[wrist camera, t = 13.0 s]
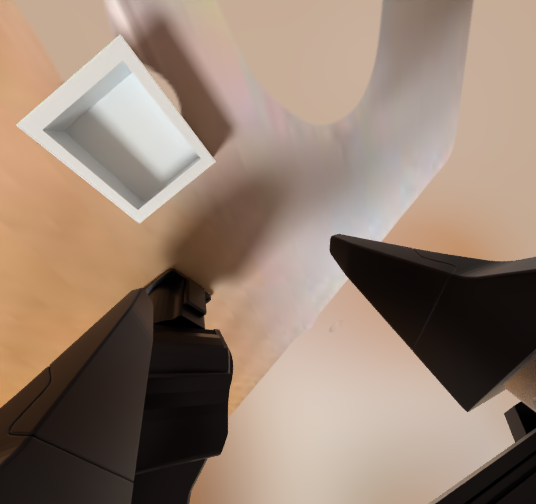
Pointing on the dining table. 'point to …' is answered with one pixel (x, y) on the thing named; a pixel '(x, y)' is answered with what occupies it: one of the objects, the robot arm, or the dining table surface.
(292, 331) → the dining table surface
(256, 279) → the dining table surface
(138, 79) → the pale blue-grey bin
